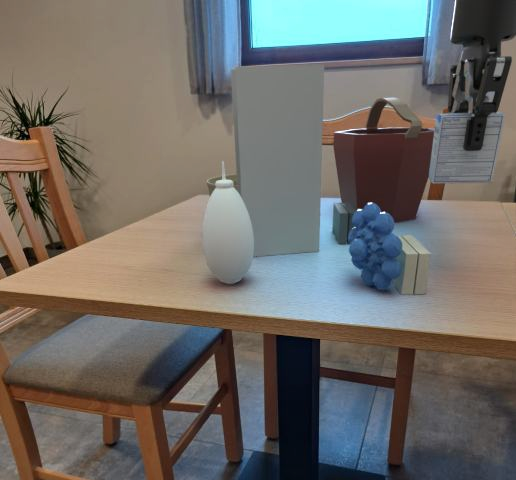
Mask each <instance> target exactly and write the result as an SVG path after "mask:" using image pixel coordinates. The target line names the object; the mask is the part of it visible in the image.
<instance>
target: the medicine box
mask: <svg viewBox="0 0 516 480" xmlns="http://www.w3.org/2000/svg"><path fill="white" fill-rule="evenodd" d="M468 120H470V119H469V118H468V113H451V112H449V113H438V114H437V115H436V117H435V123H434V129H435V130H434V138H433V146H432V154H431V162H430V169H429V177H428V180H429V182H431V184H433V185H434V184H435V185H438V184H439V185H440V184H493V182H494V181H493V180H494V175H495V172H496V171H495V170H496V166H497V159H498V155H499V150H500V146H501V139H502V135H503V129H504V124H505V120H506V114H505V113H503V112H501V111H497V112H496V113H491V116H490V118H487V124H486V129H485V135H484V141H483V146H482V149H481V150H479V151H466V150H464V148H463V146H464V139H465V133H466V127H467V121H468Z"/></svg>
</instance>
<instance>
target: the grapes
mask: <svg viewBox="0 0 516 480" xmlns="http://www.w3.org/2000/svg"><path fill="white" fill-rule="evenodd" d="M352 224H353V225H354V227H353V228H352V229H351V230H350V232H349V235H348V241H349V243H350V244H349V248H348V253H349V255H350V256H351V263H352V265H353V266H354V267H355V268H356V269H359V270H360V271H361V273H360V278H361V280H362V281H363V283H364V284H365V285H367V286H369V287H376V288H377V289H378V290H380V291H388V289H390V287H391V285H392V283H393V281H392V280H393V279H396V278H397V277H399V275H400V273H401V264H400V262H399V261H398V260H397V259H396V258H395V257H397V256H399V255H400V253H401V251H402V246H403V245H402V241H401V239H400V238H399V237H398V236H397V235H398V234H395V233H393V231H394V229H395V224H396V223H394V220H393V218H392V217H391V215H390V214H388V213H386V212H381V210H380V208H379V207H378V206H377V204H374V203H368V204H367V205H366V206H365V207H364V209H358V210H357V211H356V212H355V213H354V215H353V217H352Z"/></svg>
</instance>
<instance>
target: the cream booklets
mask: <svg viewBox="0 0 516 480" xmlns="http://www.w3.org/2000/svg"><path fill="white" fill-rule="evenodd" d="M396 235H397V236H398V237H399V238H400V239H401V241H402V245H403V246H402V251H401V253H400V255H399V256H397V257H395V258H396V259H397V260H398V261H399V262H400V264H401V273H400V275H399V277H397V278H396V279H393V280H392V283H393V284H394V287H396V288H397V291H398V292H399V293H400V294H401V296H405V295H426V294H427V287H428V279H429V272H430V266H431V265H430V264H431V259H432V253H431V252H430V250H428V249H427V248H426V247H425V246H424V245H423V244H422V243H421V242H419V240H418V239H416V238H415V237H414V235H412V234H401V235H400V234H396Z"/></svg>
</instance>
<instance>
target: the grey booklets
mask: <svg viewBox="0 0 516 480" xmlns="http://www.w3.org/2000/svg"><path fill="white" fill-rule="evenodd" d="M332 207H333V208H332V209H333V210H332V234H333V236H334V238H335V240H336V242H337V244H338V245H350V243H349V241H348V235H349V232H350V230H351V229H352V228H353V227H354V225H353V224H352V217H353V215H354V213H355V212H356V210H355V209H354V207H353V206H352V205H351V203H341V202H333V206H332Z"/></svg>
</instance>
